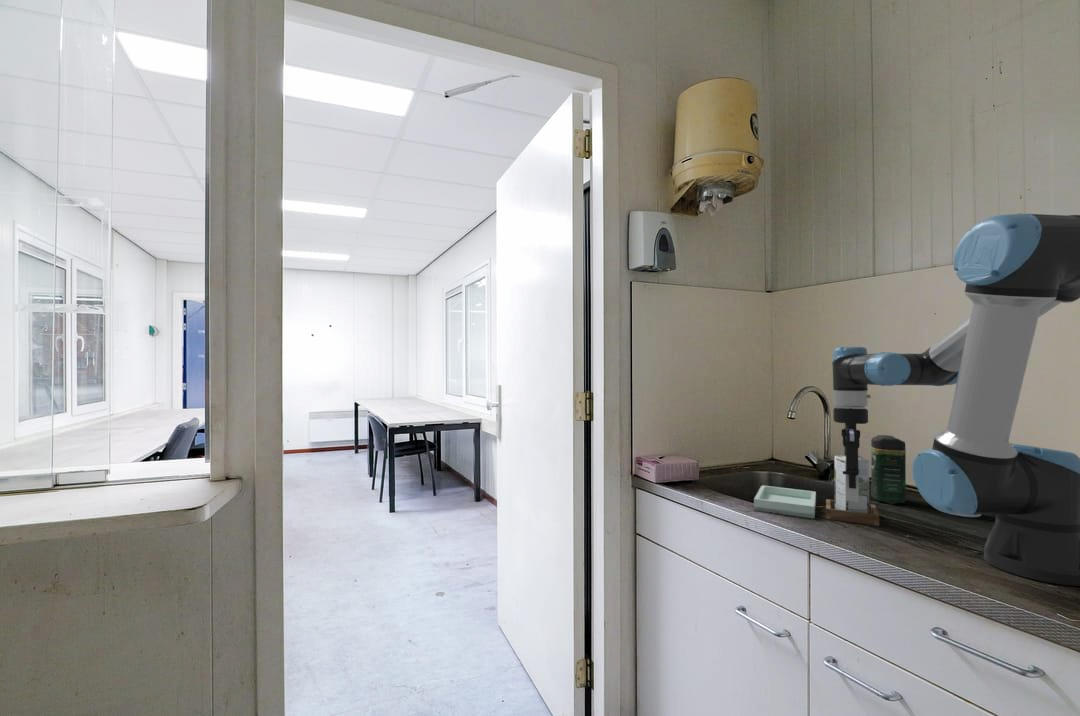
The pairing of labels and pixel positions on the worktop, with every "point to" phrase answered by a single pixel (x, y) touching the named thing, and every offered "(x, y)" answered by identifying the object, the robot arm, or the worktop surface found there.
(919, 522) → the worktop surface
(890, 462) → the coffee jar
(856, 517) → the walnut collar
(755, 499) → the mint tray
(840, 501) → the syrup box
